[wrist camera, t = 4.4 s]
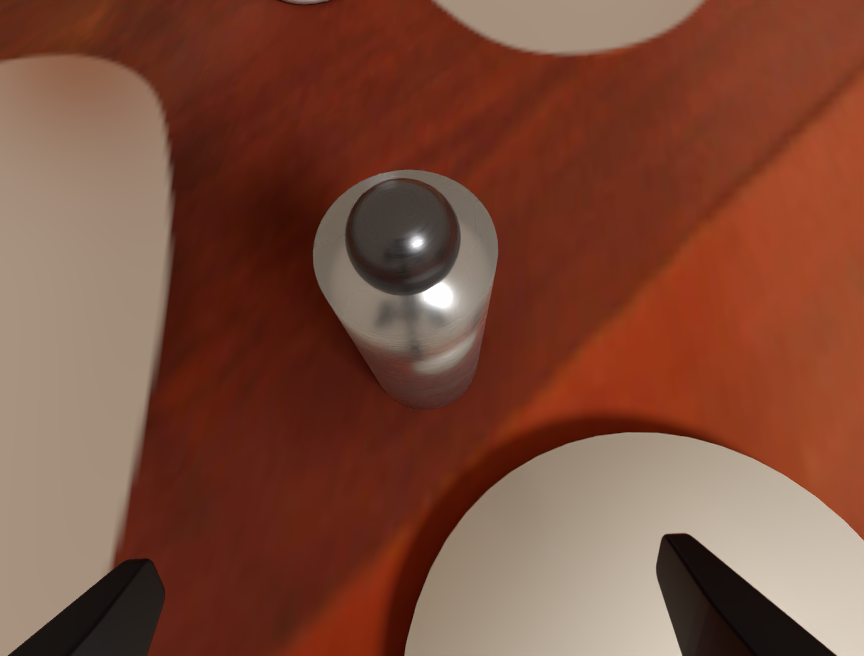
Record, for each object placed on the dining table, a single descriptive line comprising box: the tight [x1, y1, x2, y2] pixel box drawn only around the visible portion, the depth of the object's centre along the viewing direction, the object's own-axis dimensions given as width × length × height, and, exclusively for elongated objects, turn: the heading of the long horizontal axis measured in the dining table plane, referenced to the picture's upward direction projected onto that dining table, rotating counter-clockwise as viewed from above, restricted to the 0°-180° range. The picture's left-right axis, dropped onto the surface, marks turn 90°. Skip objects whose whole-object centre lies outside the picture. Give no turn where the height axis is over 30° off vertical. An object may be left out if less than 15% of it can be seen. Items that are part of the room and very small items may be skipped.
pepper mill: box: [313, 170, 498, 410], centre depth 17 cm, size 5×5×13 cm
